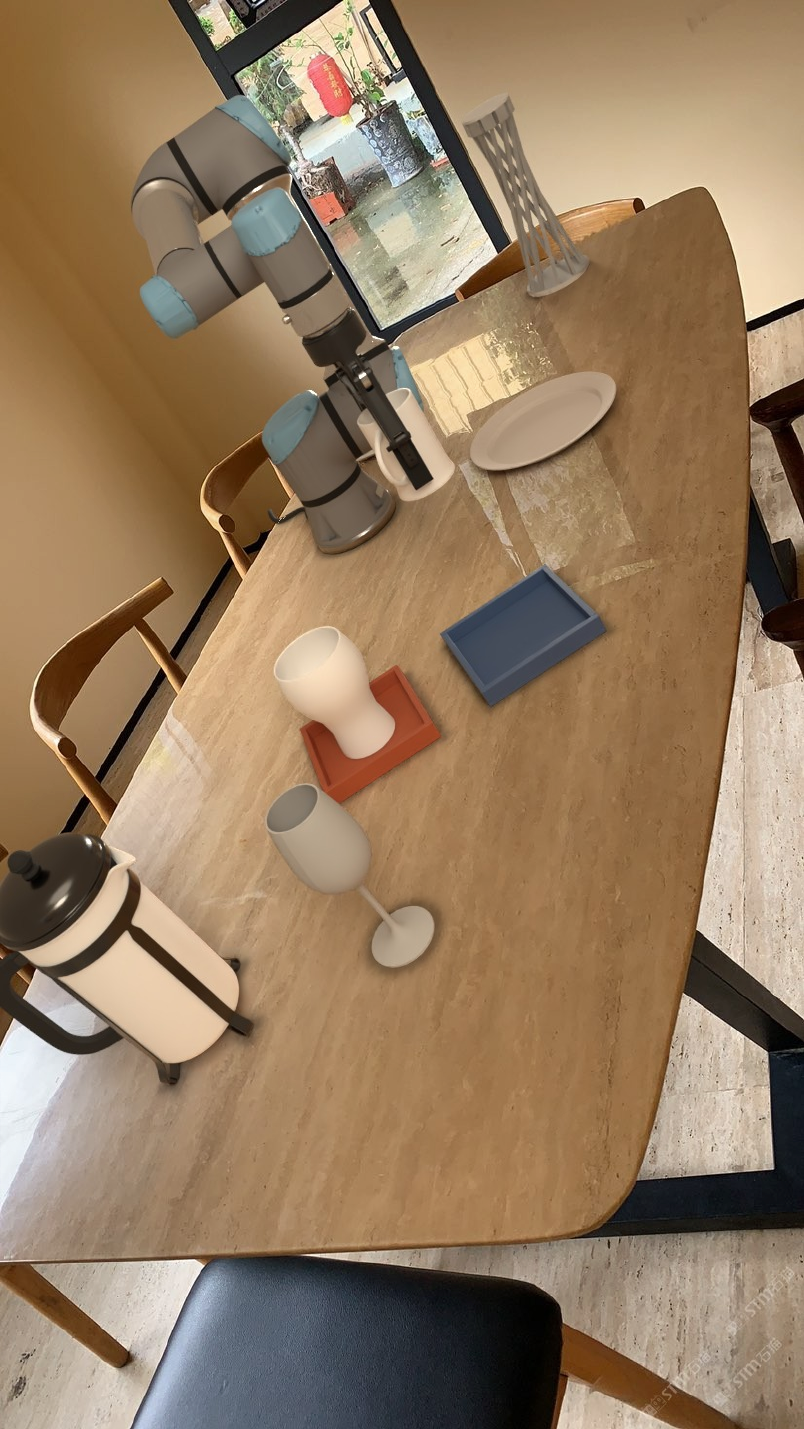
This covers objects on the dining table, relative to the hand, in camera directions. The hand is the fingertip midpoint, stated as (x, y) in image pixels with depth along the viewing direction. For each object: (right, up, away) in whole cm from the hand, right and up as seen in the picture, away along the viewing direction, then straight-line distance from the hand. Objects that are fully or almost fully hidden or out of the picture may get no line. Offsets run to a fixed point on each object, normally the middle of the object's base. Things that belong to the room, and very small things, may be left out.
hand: (413, 472), depth 139 cm
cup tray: (-5, -35, -6) cm, 36 cm away
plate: (+22, +14, +31) cm, 40 cm away
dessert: (-4, +20, +61) cm, 64 cm away
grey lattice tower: (+31, +58, +76) cm, 100 cm away
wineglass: (-1, -55, -33) cm, 64 cm away
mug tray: (+14, -23, -7) cm, 27 cm away
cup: (-6, -35, -6) cm, 36 cm away
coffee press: (-24, -66, -27) cm, 75 cm away
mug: (+1, -2, +1) cm, 3 cm away
